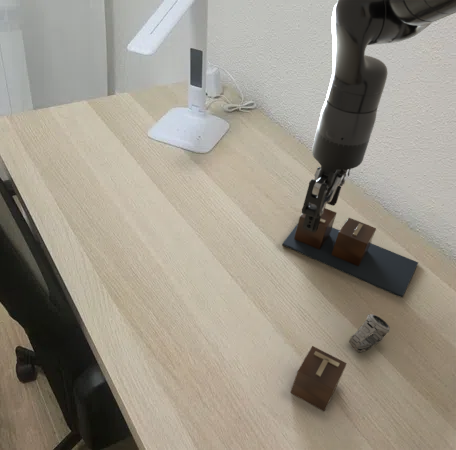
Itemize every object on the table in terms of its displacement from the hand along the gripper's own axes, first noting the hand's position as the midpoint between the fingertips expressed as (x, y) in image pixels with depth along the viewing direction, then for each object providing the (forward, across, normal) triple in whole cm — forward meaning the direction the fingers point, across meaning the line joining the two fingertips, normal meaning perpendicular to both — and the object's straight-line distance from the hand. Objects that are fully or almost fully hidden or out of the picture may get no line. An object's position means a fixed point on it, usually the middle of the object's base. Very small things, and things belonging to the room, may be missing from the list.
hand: (319, 215), depth 90 cm
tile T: (+6, -27, -11) cm, 30 cm away
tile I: (+5, 0, -6) cm, 8 cm away
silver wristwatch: (+6, -16, -14) cm, 22 cm away
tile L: (+5, 0, 0) cm, 5 cm away
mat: (+5, 0, -6) cm, 8 cm away
